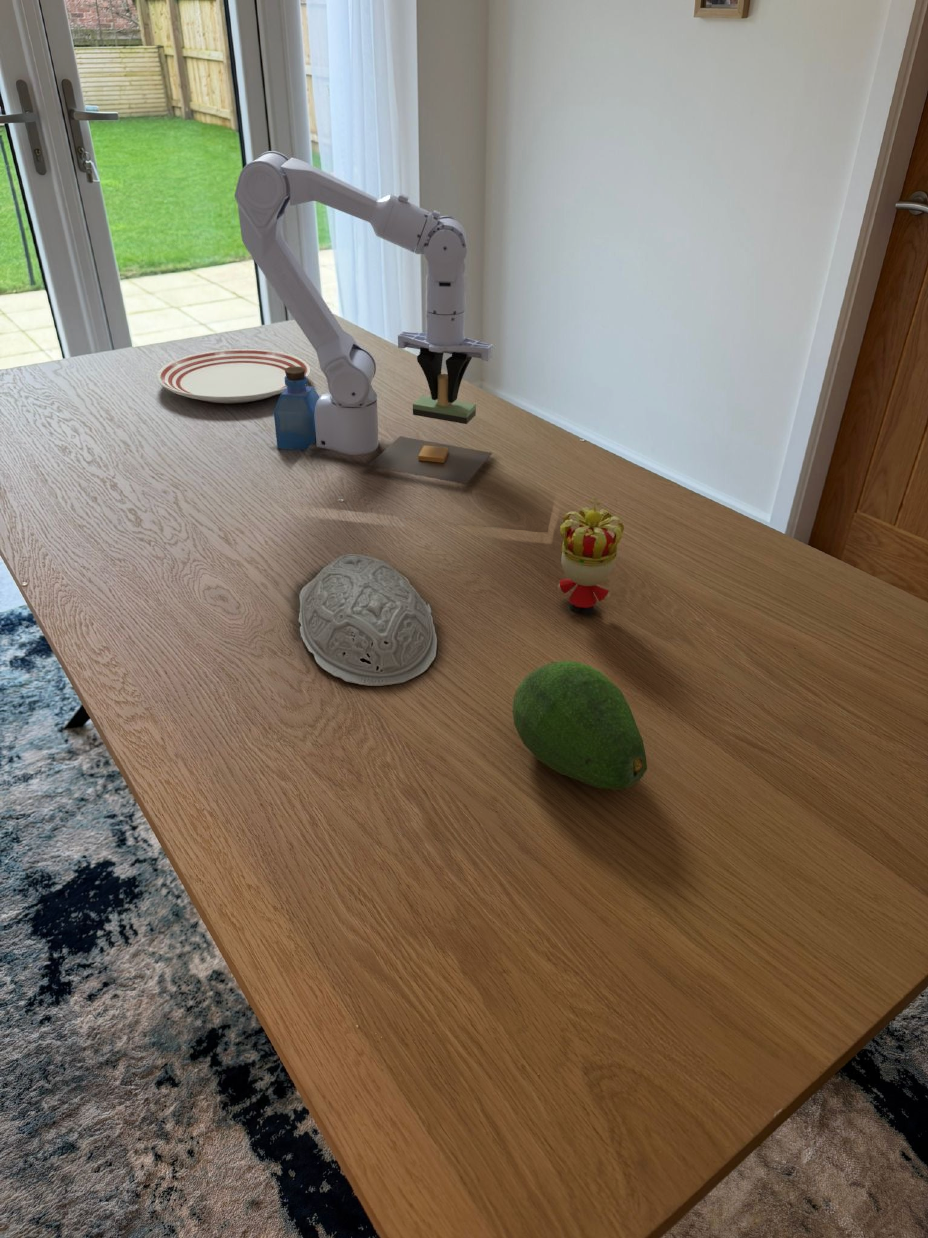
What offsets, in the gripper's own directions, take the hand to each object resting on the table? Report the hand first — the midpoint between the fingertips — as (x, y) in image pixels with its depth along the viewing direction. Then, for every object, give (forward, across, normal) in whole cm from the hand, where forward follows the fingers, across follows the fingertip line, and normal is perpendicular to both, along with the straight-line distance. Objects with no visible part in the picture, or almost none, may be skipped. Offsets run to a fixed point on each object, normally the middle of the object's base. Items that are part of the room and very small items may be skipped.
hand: (444, 399), depth 138 cm
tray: (+9, 0, -5) cm, 10 cm away
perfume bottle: (+9, -23, -5) cm, 25 cm away
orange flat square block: (+8, 0, -4) cm, 9 cm away
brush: (+3, 0, 0) cm, 3 cm away
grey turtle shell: (+9, +9, -47) cm, 48 cm away
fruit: (+10, +38, -60) cm, 72 cm away
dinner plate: (+9, -46, +12) cm, 49 cm away
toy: (+10, +32, -34) cm, 48 cm away
